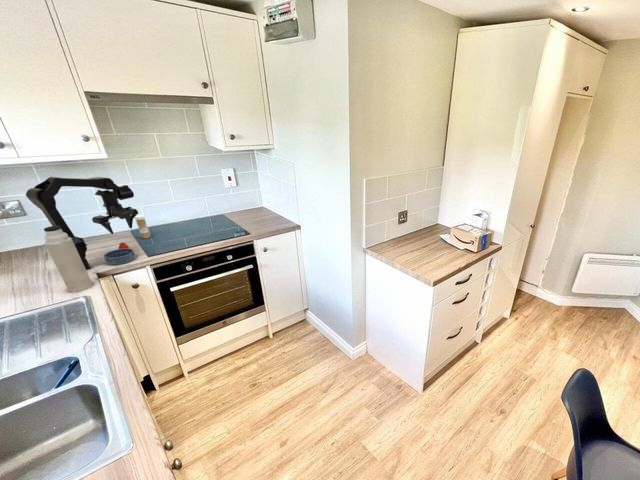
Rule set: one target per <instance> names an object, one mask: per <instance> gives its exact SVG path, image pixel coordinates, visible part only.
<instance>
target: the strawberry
mask: <svg viewBox="0 0 640 480" xmlns="http://www.w3.org/2000/svg"><path fill="white" fill-rule="evenodd" d="M118 245H119V246H118V249H124V248H129V249H130V247H129V245H128V244H126V242H123V241H120V243H118Z"/></svg>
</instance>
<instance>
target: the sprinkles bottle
mask: <svg viewBox="0 0 640 480" xmlns="http://www.w3.org/2000/svg"><path fill="white" fill-rule="evenodd" d="M134 220H135V221H136V224H137V228H138V231H139V233H140V237H141V239H149V238H151V237H152V236H151V233H150V230H149V227H148V224H147V222H146V217H145V215H144V214H137V216H135V217H134Z"/></svg>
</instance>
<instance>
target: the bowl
mask: <svg viewBox="0 0 640 480" xmlns="http://www.w3.org/2000/svg"><path fill="white" fill-rule="evenodd" d="M102 257H103V259H104V262H105V263H106V264H107V265H112V266H113V265H114V266H115V265H123V264H126V263H130V262H131V261H133V260H135V259H136V258H137V255H136V252H135V249H134V248H130V247H129V248H124V249H119V248H117V249H113V250H110V251H107V252H105V253H104V254H103V256H102Z"/></svg>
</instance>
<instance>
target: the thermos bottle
mask: <svg viewBox="0 0 640 480" xmlns="http://www.w3.org/2000/svg"><path fill="white" fill-rule="evenodd" d="M43 231H44V233H45V236H43V237H44V245H45V247H46V250H47V251H48V253H49V255H50V257H51V260H52V261H53V263H54V266H55V267H56V269H57V271H58V272H59V275H60V277H61V279H62V281H63V282H64V284H65V287H66V289H67V290H68V291H69V292H72V293H73V292H74V293H75V292H81V291H84V290H88V289H90V288H91V287H92V286H93V282H92V280H91V277H90V275H89V272H88V270H86V269H85V267H84V264H83V262H82V260H81V258H80V256H79V254H78V251H77V249H76V247H75V245H74V243H73V241H72V239H71V238H70V237H68V234H67V233H64V232H63V231H62V229H61V226H52V225H51V226H46V227H45V228H43Z"/></svg>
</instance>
